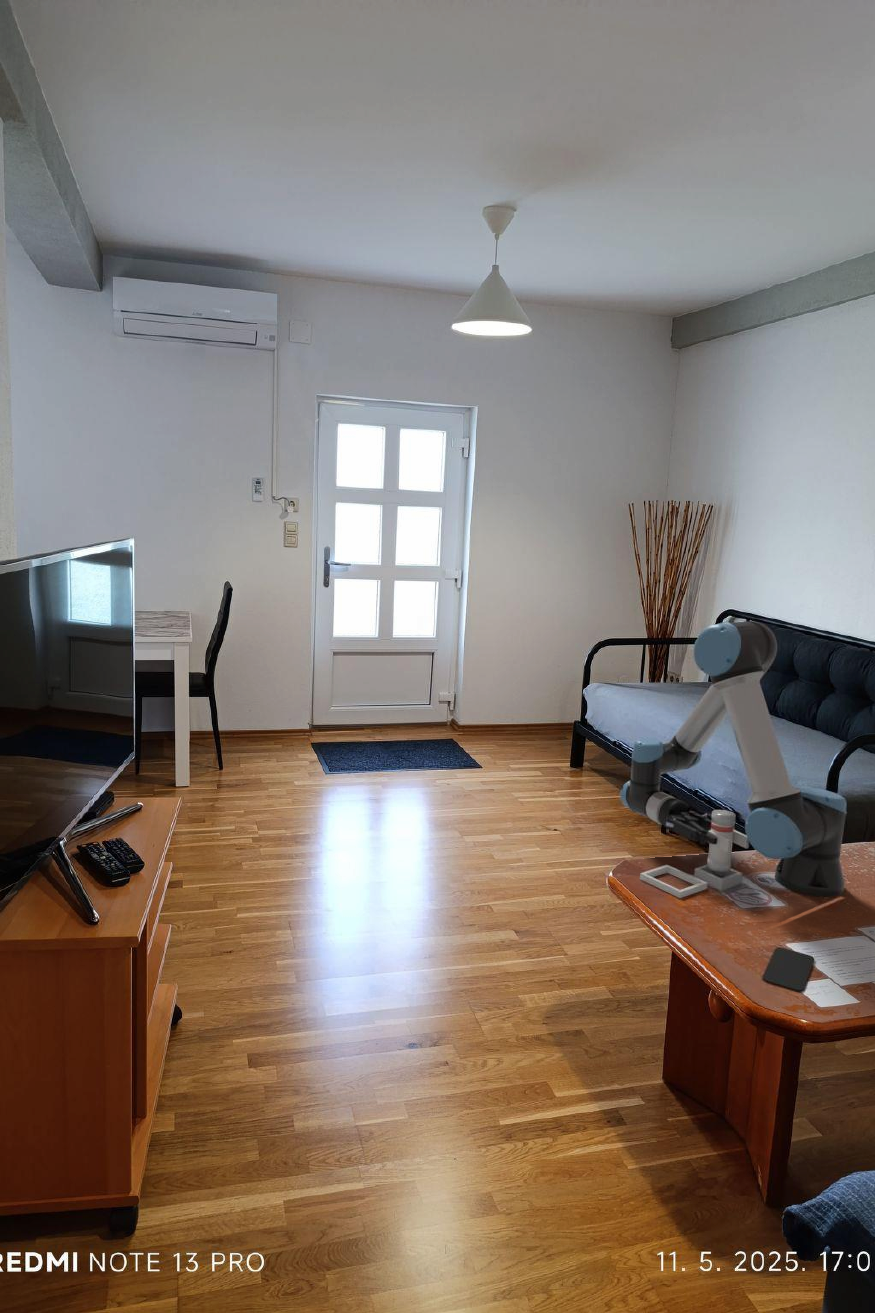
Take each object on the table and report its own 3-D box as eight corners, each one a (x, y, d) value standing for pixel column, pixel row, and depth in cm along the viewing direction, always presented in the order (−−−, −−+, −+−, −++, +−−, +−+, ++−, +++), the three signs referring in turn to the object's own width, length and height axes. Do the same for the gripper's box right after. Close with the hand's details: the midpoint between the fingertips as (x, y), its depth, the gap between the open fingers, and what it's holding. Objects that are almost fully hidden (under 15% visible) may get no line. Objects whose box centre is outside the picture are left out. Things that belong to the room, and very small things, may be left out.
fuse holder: (749, 887, 209) (750, 875, 208) (725, 896, 203) (726, 883, 203) (709, 870, 217) (710, 858, 217) (685, 879, 212) (687, 866, 212)
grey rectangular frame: (706, 891, 206) (707, 882, 206) (679, 900, 200) (680, 892, 200) (666, 872, 215) (667, 864, 215) (639, 881, 209) (640, 873, 209)
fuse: (734, 868, 209) (740, 815, 207) (721, 873, 206) (726, 819, 204) (716, 861, 213) (721, 808, 211) (702, 865, 210) (707, 812, 208)
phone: (760, 979, 168) (776, 946, 181) (760, 983, 168) (775, 949, 181) (803, 991, 164) (815, 956, 177) (802, 995, 164) (815, 960, 177)
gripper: (695, 821, 229) (765, 854, 209) (639, 830, 221) (706, 865, 201) (697, 793, 228) (769, 823, 207) (641, 801, 220) (710, 833, 199)
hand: (738, 844), depth 204 cm, fingers closed on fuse, 5 cm apart
